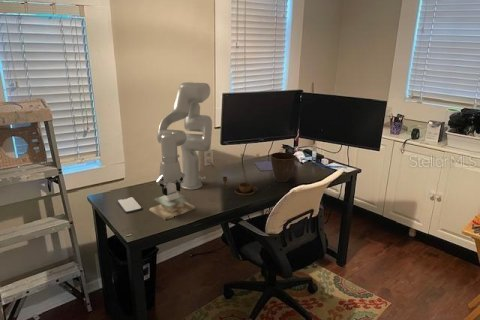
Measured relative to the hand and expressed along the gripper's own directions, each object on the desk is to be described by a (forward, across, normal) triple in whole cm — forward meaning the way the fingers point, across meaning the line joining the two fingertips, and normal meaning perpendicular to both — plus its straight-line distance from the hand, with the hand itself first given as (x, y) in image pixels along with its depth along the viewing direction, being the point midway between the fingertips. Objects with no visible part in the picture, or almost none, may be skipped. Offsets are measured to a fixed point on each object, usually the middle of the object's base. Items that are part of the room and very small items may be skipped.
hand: (171, 192), depth 181 cm
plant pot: (+10, -73, +11) cm, 74 cm away
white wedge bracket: (+4, 0, 0) cm, 4 cm away
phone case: (+10, +14, -19) cm, 25 cm away
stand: (+9, 0, 0) cm, 9 cm away
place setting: (+10, -45, +4) cm, 46 cm away
